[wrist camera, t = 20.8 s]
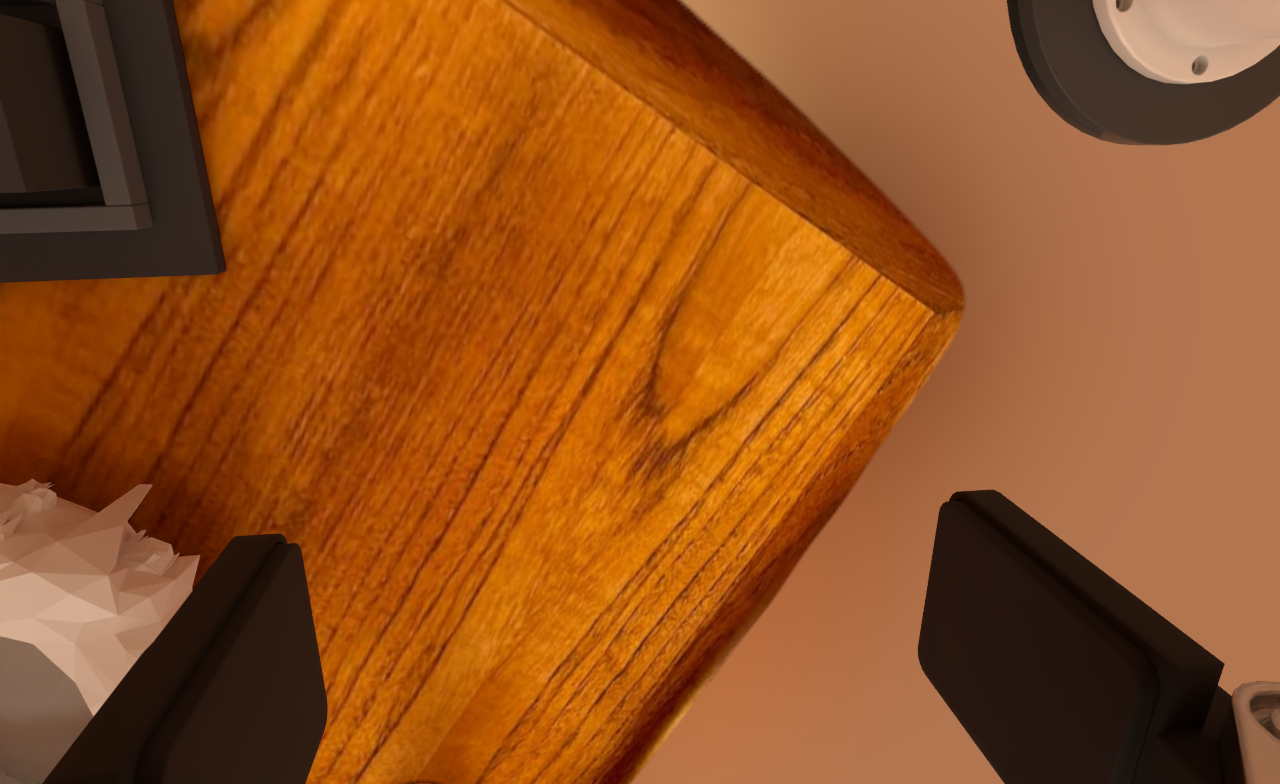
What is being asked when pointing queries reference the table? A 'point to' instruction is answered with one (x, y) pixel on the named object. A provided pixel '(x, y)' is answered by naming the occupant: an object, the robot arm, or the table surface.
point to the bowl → (73, 616)
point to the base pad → (119, 156)
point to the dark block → (40, 112)
